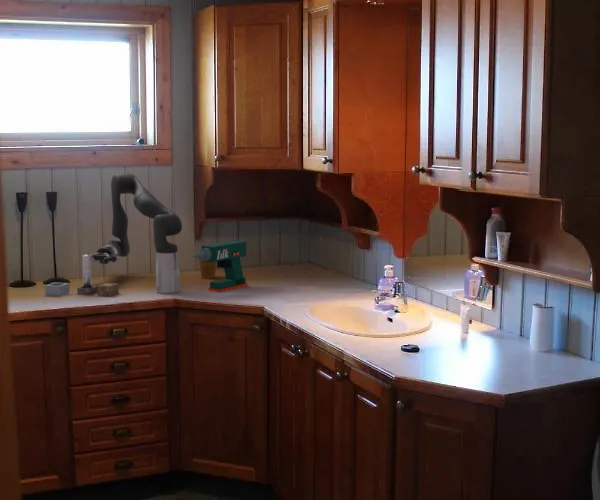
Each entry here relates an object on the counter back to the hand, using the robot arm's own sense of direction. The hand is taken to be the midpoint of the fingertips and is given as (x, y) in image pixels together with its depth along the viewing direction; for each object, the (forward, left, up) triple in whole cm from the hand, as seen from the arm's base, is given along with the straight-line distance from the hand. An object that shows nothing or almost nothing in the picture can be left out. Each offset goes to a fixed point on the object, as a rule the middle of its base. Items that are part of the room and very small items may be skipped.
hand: (95, 260), depth 350 cm
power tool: (-51, -13, -13) cm, 54 cm away
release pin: (-12, +11, -10) cm, 19 cm away
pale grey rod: (-2, +11, -12) cm, 16 cm away
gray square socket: (+9, +16, -13) cm, 22 cm away
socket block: (-7, +11, -13) cm, 18 cm away
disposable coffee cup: (-36, -40, -13) cm, 55 cm away
